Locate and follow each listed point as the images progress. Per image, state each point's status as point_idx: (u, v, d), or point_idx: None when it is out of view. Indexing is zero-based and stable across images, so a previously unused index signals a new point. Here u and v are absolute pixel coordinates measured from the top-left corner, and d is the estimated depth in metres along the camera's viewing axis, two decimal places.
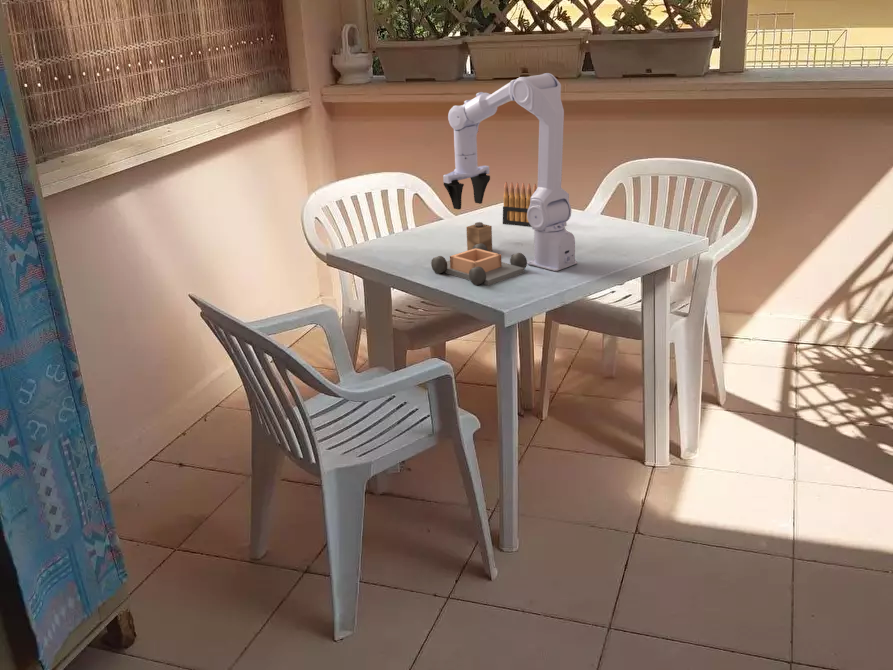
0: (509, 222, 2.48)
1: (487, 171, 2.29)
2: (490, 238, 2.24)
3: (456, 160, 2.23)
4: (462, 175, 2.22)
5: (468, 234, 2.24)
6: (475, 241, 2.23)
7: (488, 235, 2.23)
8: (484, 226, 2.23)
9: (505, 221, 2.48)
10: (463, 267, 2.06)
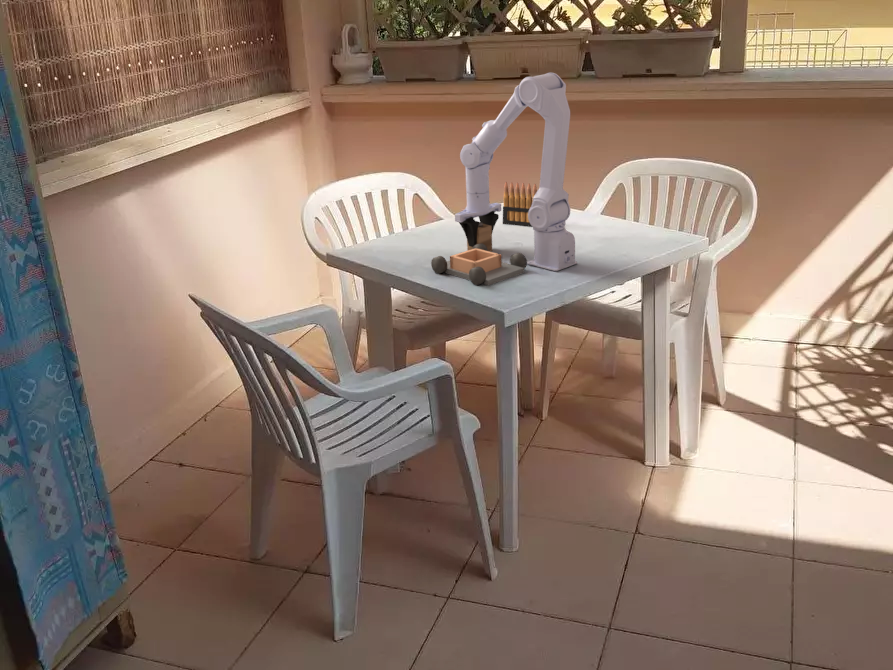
0: (509, 222, 2.48)
1: (499, 208, 2.25)
2: (490, 238, 2.24)
3: (468, 199, 2.19)
4: (474, 214, 2.18)
5: None
6: None
7: (488, 235, 2.23)
8: (484, 226, 2.23)
9: (505, 221, 2.48)
10: (463, 267, 2.06)
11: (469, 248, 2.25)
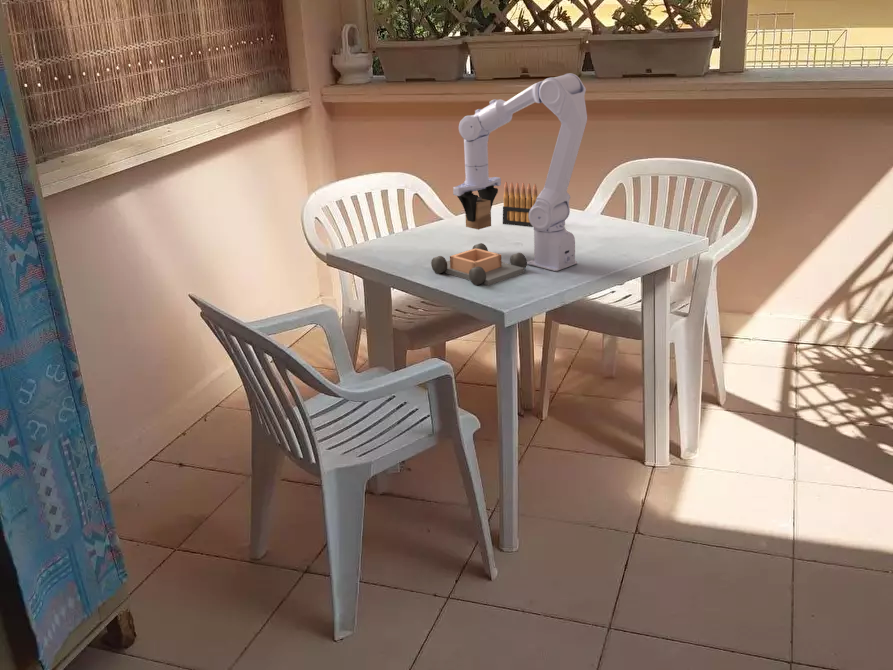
0: (509, 222, 2.48)
1: (498, 183, 2.21)
2: (489, 213, 2.20)
3: (466, 172, 2.15)
4: (473, 187, 2.14)
5: None
6: None
7: (487, 210, 2.19)
8: (483, 200, 2.19)
9: (505, 221, 2.48)
10: (463, 267, 2.06)
11: (468, 223, 2.21)
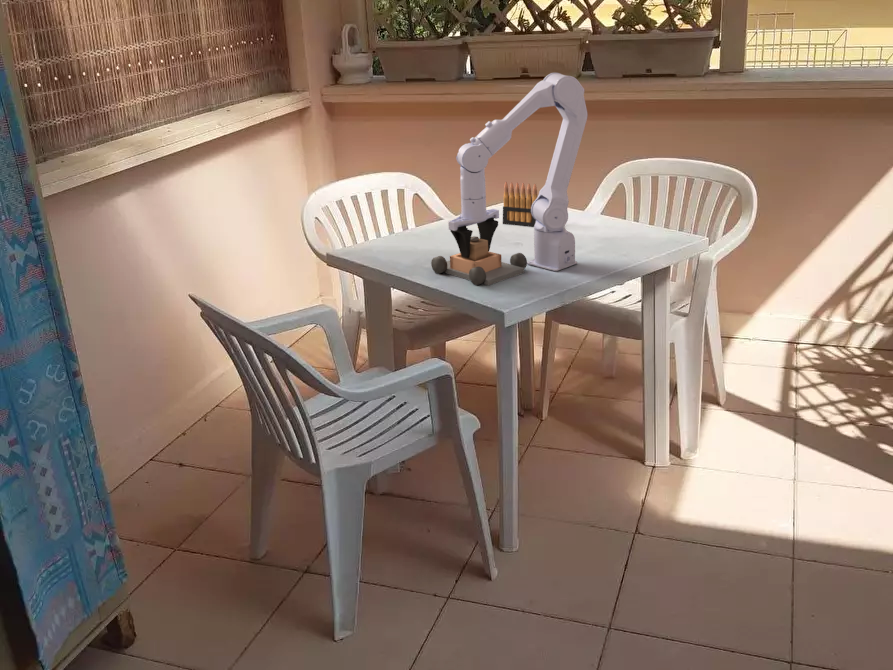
0: (509, 222, 2.48)
1: (496, 215, 2.08)
2: (486, 254, 2.08)
3: (463, 205, 2.02)
4: (469, 221, 2.01)
5: None
6: (470, 257, 2.06)
7: (484, 250, 2.07)
8: (480, 241, 2.06)
9: (505, 221, 2.48)
10: (463, 267, 2.06)
11: None
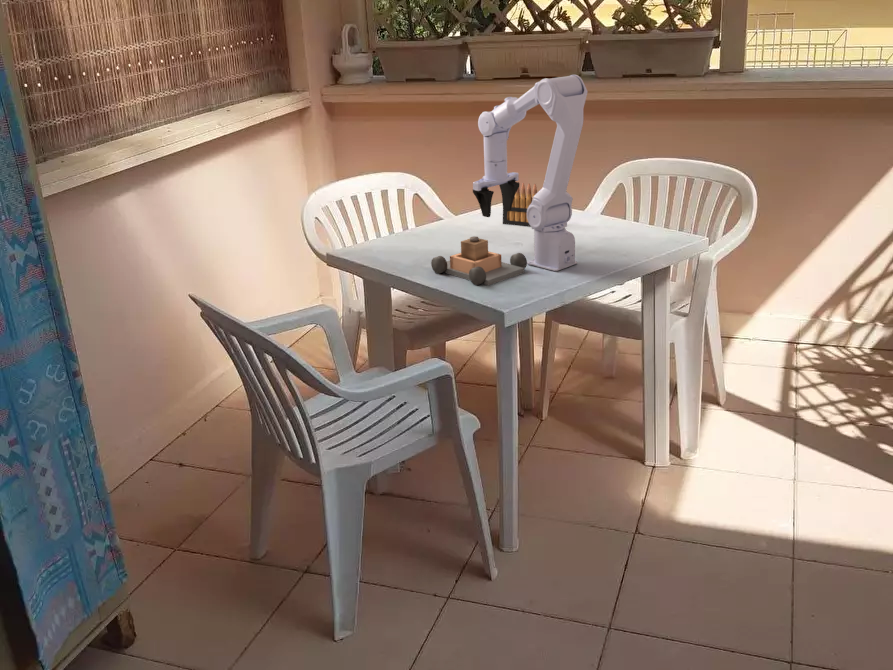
0: (509, 222, 2.48)
1: (516, 178, 2.25)
2: (486, 254, 2.08)
3: (486, 167, 2.19)
4: (492, 182, 2.18)
5: (463, 249, 2.07)
6: (470, 257, 2.06)
7: (484, 250, 2.07)
8: (480, 241, 2.06)
9: (505, 221, 2.48)
10: (463, 267, 2.06)
11: None
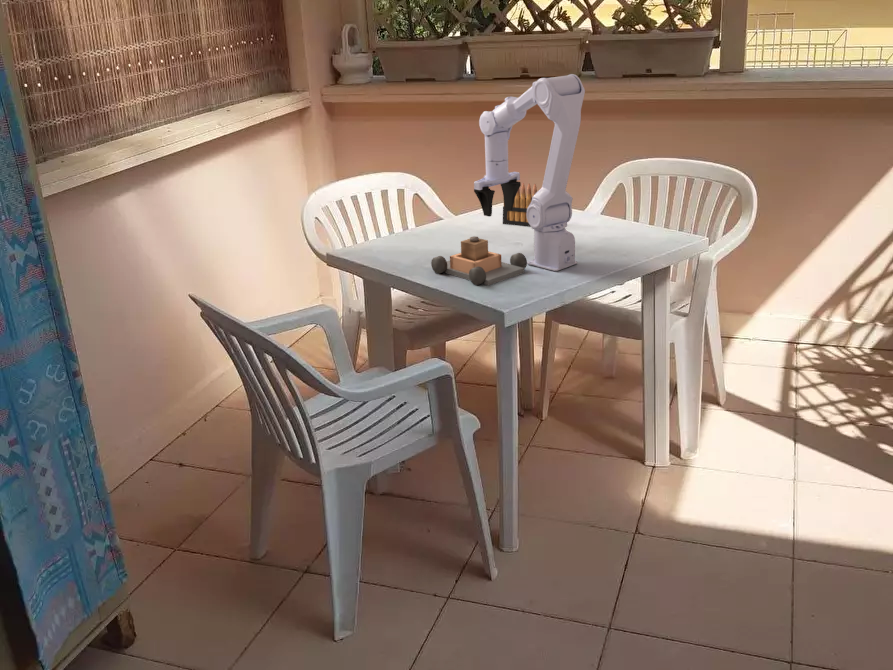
0: (509, 222, 2.48)
1: (517, 177, 2.26)
2: (486, 254, 2.08)
3: (487, 167, 2.20)
4: (493, 182, 2.19)
5: (463, 249, 2.07)
6: (470, 257, 2.06)
7: (484, 250, 2.07)
8: (480, 241, 2.06)
9: (505, 221, 2.48)
10: (463, 267, 2.06)
11: None
